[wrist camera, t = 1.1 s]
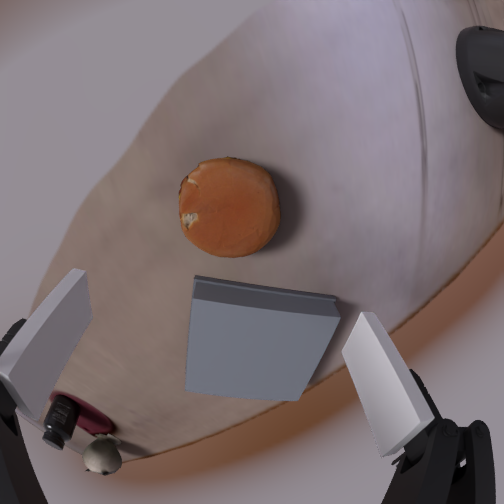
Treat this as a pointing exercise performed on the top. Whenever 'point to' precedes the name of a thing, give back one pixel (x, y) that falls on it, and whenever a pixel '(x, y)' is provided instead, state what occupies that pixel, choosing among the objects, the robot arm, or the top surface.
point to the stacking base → (255, 339)
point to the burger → (229, 207)
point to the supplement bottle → (60, 421)
